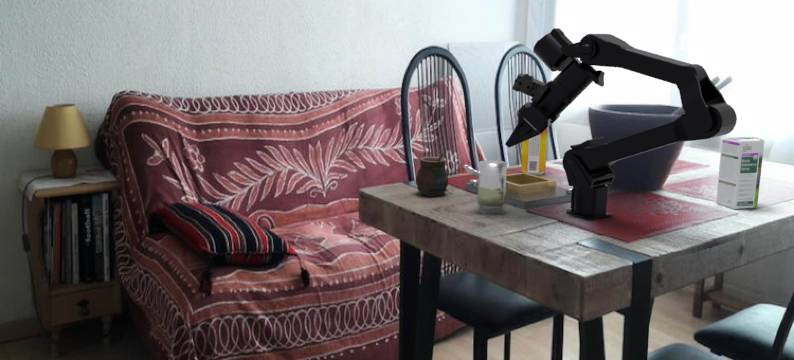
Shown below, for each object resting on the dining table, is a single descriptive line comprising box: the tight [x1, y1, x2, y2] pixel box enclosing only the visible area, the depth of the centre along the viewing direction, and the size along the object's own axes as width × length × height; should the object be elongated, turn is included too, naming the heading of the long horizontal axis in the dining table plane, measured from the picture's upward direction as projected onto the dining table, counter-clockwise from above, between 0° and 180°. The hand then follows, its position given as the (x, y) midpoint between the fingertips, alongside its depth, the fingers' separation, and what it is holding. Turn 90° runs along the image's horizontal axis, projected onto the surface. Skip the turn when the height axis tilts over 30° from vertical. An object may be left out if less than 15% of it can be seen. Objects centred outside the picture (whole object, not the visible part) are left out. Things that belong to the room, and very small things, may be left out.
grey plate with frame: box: [464, 172, 573, 210], centre depth 153 cm, size 20×16×4 cm
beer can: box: [520, 127, 549, 176], centre depth 175 cm, size 6×6×15 cm
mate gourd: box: [415, 152, 449, 197], centre depth 152 cm, size 7×8×10 cm
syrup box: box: [715, 135, 765, 210], centre depth 144 cm, size 6×6×14 cm
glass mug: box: [462, 159, 508, 216], centre depth 138 cm, size 9×6×10 cm, turn 82°
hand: (511, 142), depth 141 cm, fingers open, 9 cm apart
